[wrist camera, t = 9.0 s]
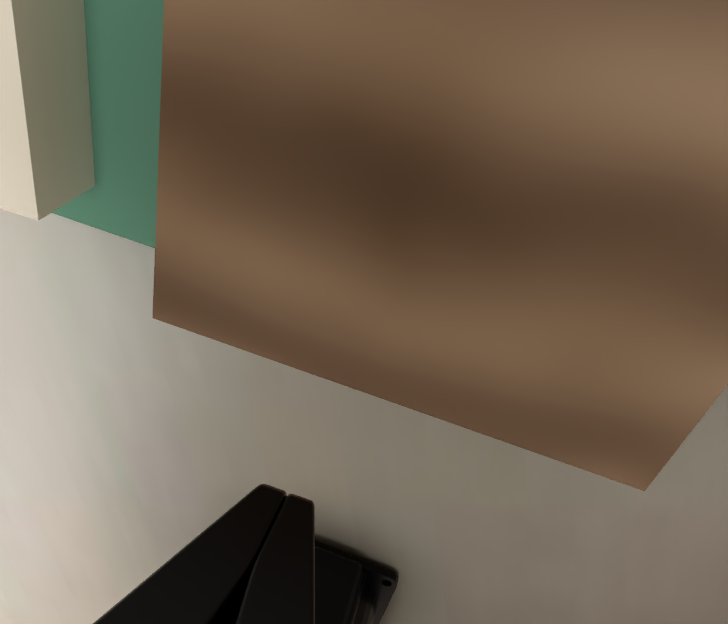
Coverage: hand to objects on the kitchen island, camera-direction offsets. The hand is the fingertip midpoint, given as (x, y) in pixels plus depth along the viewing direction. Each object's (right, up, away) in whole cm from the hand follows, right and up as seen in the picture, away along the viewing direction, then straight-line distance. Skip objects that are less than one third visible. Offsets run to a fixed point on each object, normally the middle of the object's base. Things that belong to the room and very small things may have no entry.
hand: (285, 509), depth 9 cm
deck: (+5, +8, +9) cm, 13 cm away
